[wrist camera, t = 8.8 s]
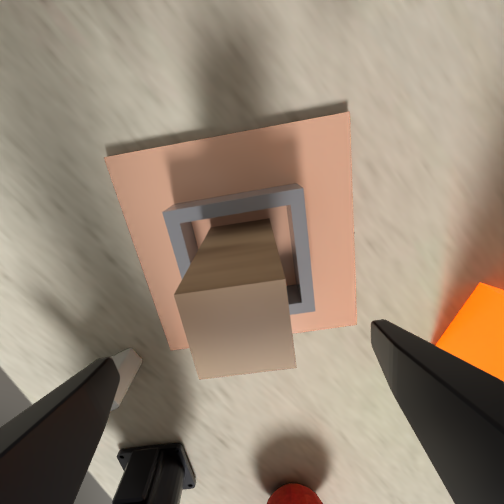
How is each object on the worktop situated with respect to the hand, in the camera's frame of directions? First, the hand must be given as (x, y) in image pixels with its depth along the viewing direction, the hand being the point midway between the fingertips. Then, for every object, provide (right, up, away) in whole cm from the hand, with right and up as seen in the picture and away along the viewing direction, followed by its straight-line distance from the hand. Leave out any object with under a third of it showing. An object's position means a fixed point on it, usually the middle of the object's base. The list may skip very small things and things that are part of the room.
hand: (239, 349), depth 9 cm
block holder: (0, +4, +10) cm, 11 cm away
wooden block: (0, +3, +9) cm, 10 cm away
